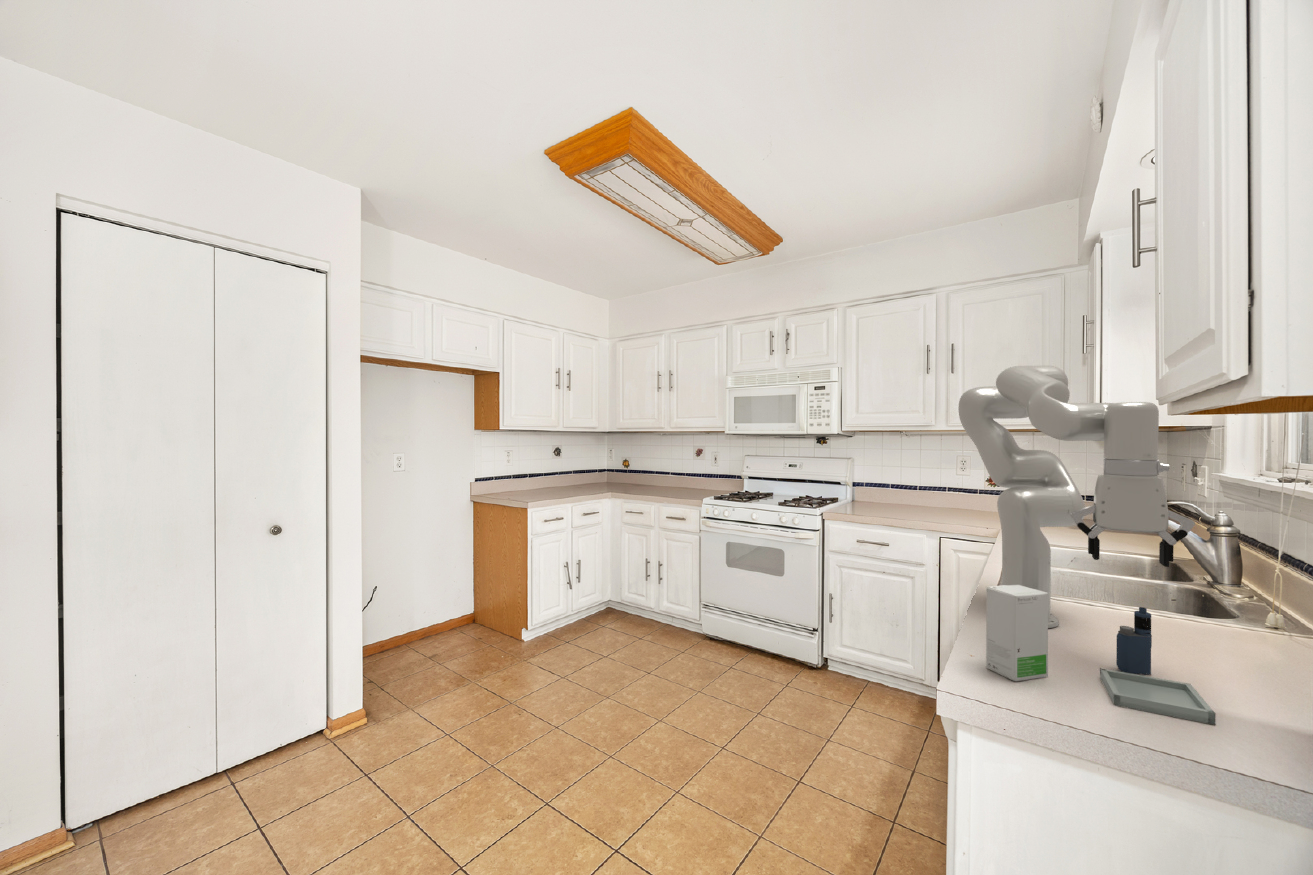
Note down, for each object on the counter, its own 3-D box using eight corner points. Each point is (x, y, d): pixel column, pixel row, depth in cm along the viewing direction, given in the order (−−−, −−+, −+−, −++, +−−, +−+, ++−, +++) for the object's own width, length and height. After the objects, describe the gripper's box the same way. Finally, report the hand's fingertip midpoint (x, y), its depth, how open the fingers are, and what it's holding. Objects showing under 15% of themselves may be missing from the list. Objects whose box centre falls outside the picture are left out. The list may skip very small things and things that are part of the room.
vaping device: (1155, 675, 98) (1155, 610, 98) (1122, 673, 99) (1122, 608, 99) (1145, 669, 101) (1145, 606, 101) (1113, 667, 102) (1113, 604, 102)
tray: (1100, 677, 97) (1100, 668, 97) (1190, 694, 91) (1190, 683, 91) (1113, 704, 88) (1114, 694, 88) (1215, 724, 82) (1215, 713, 82)
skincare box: (1014, 682, 96) (1014, 596, 96) (982, 667, 102) (983, 585, 102) (1050, 676, 98) (1050, 592, 98) (1017, 661, 104) (1017, 582, 104)
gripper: (1188, 469, 97) (1186, 563, 98) (1068, 466, 106) (1067, 552, 107) (1202, 472, 91) (1200, 573, 91) (1073, 469, 100) (1072, 560, 100)
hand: (1128, 561), depth 99 cm, fingers open, 9 cm apart
